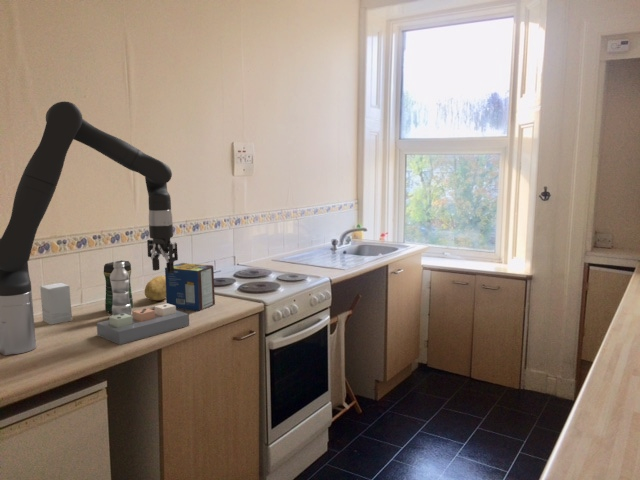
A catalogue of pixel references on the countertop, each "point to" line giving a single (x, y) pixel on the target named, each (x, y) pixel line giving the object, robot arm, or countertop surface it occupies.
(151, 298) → the potato
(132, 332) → the button panel
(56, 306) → the supplement box
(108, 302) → the coffee jar
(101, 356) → the countertop surface
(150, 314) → the button three dots
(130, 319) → the button two dots
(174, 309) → the button one dot
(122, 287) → the plastic bottle
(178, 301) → the protein box
